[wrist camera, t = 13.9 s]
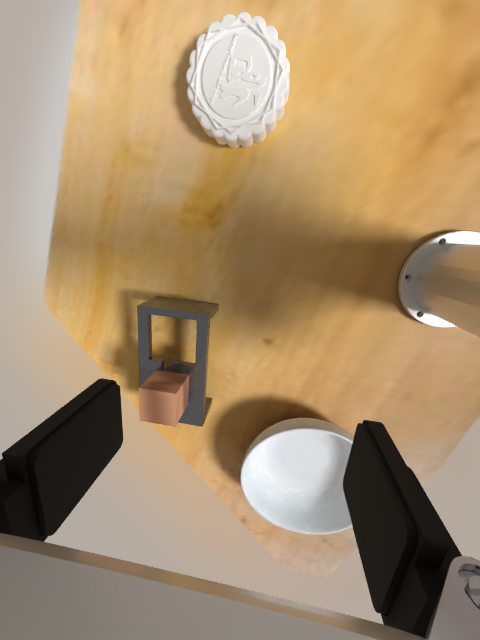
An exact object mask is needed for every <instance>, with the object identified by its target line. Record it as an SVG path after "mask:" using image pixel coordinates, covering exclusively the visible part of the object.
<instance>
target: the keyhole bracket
mask: <svg viewBox="0 0 480 640" xmlns="http://www.w3.org/2000/svg"><path fill="white" fill-rule="evenodd" d="M217 311H218V304H214V303H205V302H197V301H188V300H180V299H172V298H163V297H155V298H153V299H150V300H148V301H146V302H144V303H142V304H140V305H137V312H138V343H139V374H140V386H141V385H142V384H143V383H144V382H145V381H146V380H147V379H148V378H149V377H150V376H151V375H152V373H153V372H154V371H155V370H161V371H164V359H162V358H155V357H152V332H151V314H153V315H161V316H168V317H176V318H184V319H192V320H197V339H196V363H189V362H184V364H183V367H182V374H187V375H189V387H188V405H187V407H186V409H185V410H184V412H183V414H182V416H181V418H180V420H179V421H178V422H179V423H185V424H190V425H196V426H202V427H203V424H204V422H205V419H206V417H207V414H208V412H209V409H210V407H211V404H212V398H206V382H207V364H208V346H209V327H210V319H211V318H212V316H213V315H214V314H215V313H216V312H217Z"/></svg>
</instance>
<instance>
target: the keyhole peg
mask: <svg viewBox="0 0 480 640" xmlns="http://www.w3.org/2000/svg"><path fill="white" fill-rule="evenodd" d="M183 364H184V362H182V361H175V362H172V363H170V364H169V365H168V366H167V367H166V368H165V370H164V371H161V370H155V371H154V372H153V373H152V375H151V376H150V377H149V378H148V379H147V380H146V381H145V382H144V383H143V384H142V385H141V386H140V387H139V412H140V421H146V422H151V423H157V424H163V425H168V426H174V427H176V425H177V423H178V421H179V420H180V418H181V416H182V414H183V412H184V410H185V409H186V407H187V405H188V387H189V375H187V374H182V367H183Z"/></svg>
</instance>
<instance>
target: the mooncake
mask: <svg viewBox="0 0 480 640" xmlns="http://www.w3.org/2000/svg"><path fill="white" fill-rule="evenodd" d="M189 64H190V68H189V69H188V70H187V73H186V80H187V83H188V85H189V87H188V89H187V96H188V99H189V101H190V102H191V104H192V112H193V114H194V116H195V117H196V119H197V120H198V122H199V123H200V124H201V126H202V127H203V129H204V130H205V132H206V133H207V135H208V136H210V137H214V138H215V140H216V141H217V142H218V143H219V144H221V145H225V144H228V146H229V147H231V148H238V147H239V146H240V145H241V146H242V147H244V148H247V147H250V146H251V145H252V144H253V142H256V143H259V142H261V141H263V140H264V138H265V136H266V134H269V133H271V132H273V131H274V129H275V127H276V121H278V120H280V119H281V118H282V116H283V114H284V105H285V104H286V102H287V100H288V95H289V73H290V63H289V61H288V59H287V58H286V47H285V44H284V43H283V41H281V40H279V39H278V34H277V31H276V29H275V28H274V27H273V26H270V25H268V26H266V23H265V21H264V19H263V18H262V17H260V16H255V17H253V18H251V16H250V15H249V14H248V13H246V12H241V13H239V14H238V15H237V16H236V17H235V16H234V15H232V14H226V15H225V16H224V17H223V18H222V19H221V21H220V22H217V21H215V22H212V23H211V24H210V25H209V27H208V29H207V33H205V34H202V35H200V36H199V37H198V39H197V42H196V49H195V50H193V51H192V52H191V54H190V57H189Z"/></svg>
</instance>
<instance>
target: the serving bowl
mask: <svg viewBox="0 0 480 640" xmlns="http://www.w3.org/2000/svg"><path fill="white" fill-rule="evenodd" d="M353 439H354V436H352V435H351V434H350V433H348V432H347V431H346V430H344V429H342V428H341V427H339V426H337V425H335V424H332V423H330V422H327V421H324V420H320V419H314V418H293V419H288V420H284V421H281V422H278V423H276V424H274V425H272V426H270V427H268V428H267V429H265V430H264V431H263V432H261V433H260V434H259V435H258V436H257V437H256V438H255V440H254V441H253V442H252V444H251V445H250V447H249V449H248V450H247V452H246V455H245V457H244V460H243V463H242V466H241V472H240V482H241V487H242V490H243V493H244V495H245V497H246V499H247V501H248V502H249V504H250V505H251V506H252V508H253V509H254V510H255V511H256V512H257V513H258V514H259V515H261V516H262V517H263V518H265V519H266V520H268V521H269V522H271V523H273V524H275V525H277V526H279V527H281V528H284V529H287V530H290V531H294V532H299V533H304V534H329V533H335V532H339V531H342V530H345V529H348V528H350V527H352V522H351V518H350V514H349V510H348V507H347V503H346V499H345V495H344V491H343V477H344V474H345V470H346V466H347V462H348V458H349V455H350V451H351V447H352V443H353Z"/></svg>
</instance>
